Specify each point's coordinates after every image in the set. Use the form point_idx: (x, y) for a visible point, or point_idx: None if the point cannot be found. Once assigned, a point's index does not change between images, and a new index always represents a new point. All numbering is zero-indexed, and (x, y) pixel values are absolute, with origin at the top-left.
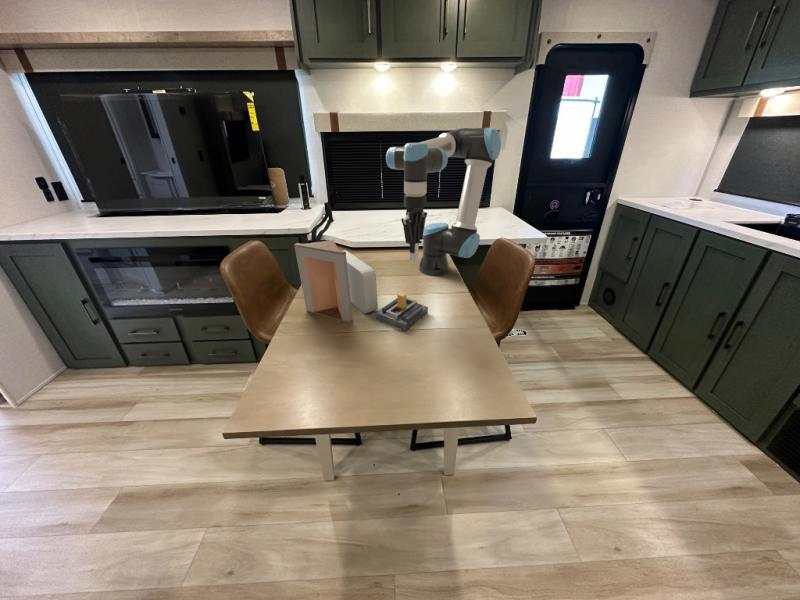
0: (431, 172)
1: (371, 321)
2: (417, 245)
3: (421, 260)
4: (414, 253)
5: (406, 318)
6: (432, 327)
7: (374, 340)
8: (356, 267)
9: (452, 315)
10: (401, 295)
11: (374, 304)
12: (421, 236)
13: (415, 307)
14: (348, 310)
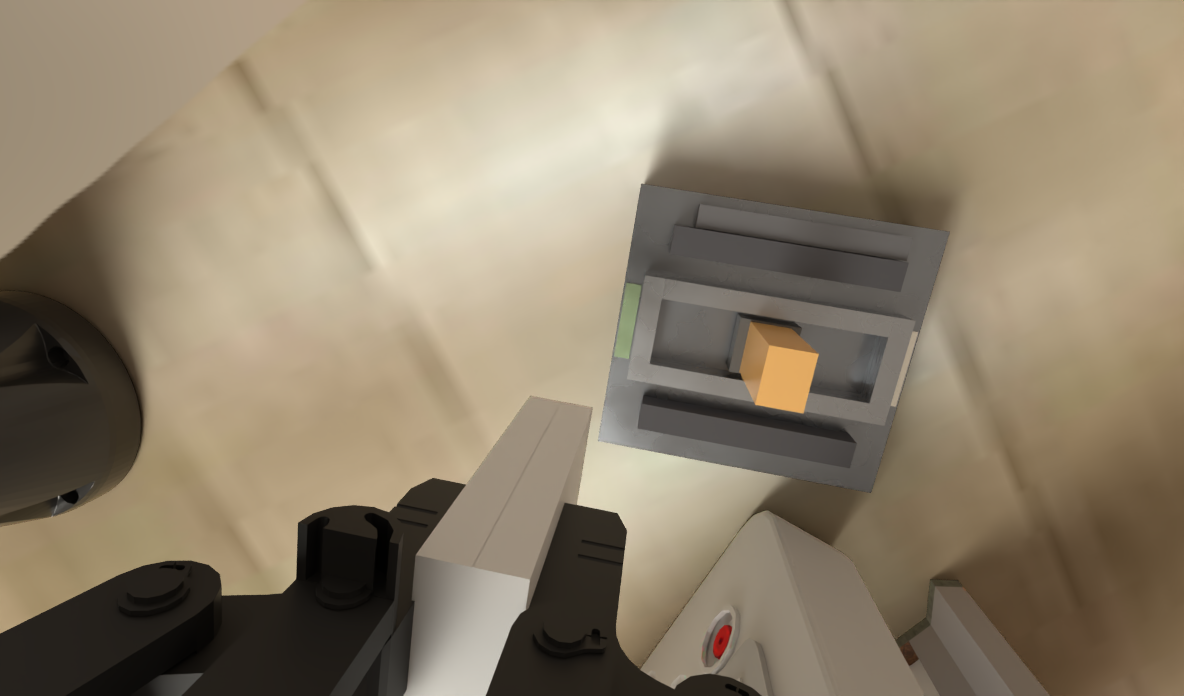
0: None
1: (888, 480)
2: (481, 541)
3: (22, 516)
4: (565, 496)
5: (909, 248)
6: (803, 77)
7: (1091, 365)
8: None
9: (588, 3)
10: (802, 377)
11: (800, 541)
12: (115, 647)
13: (737, 250)
14: (1011, 652)
